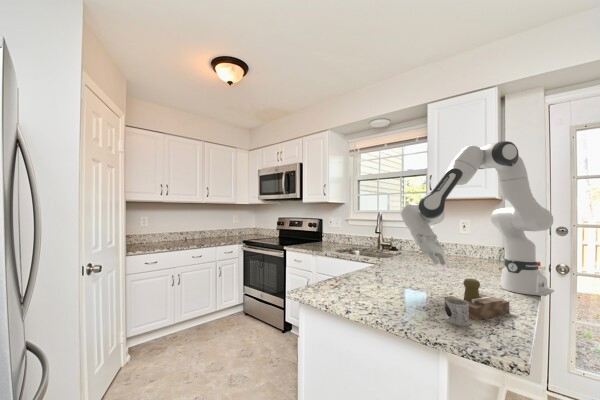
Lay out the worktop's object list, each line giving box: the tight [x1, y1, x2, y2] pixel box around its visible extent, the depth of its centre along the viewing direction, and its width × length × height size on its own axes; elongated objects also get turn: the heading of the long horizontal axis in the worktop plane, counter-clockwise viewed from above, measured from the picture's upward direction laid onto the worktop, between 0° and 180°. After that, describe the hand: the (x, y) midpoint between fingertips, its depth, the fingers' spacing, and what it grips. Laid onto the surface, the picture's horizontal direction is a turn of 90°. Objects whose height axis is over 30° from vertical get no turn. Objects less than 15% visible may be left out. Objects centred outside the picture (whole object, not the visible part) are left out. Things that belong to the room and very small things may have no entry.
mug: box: [444, 299, 470, 328], centre depth 86 cm, size 10×7×7 cm
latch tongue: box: [472, 296, 492, 303], centre depth 97 cm, size 9×1×4 cm, turn 113°
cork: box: [463, 278, 481, 302], centre depth 101 cm, size 6×6×11 cm
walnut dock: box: [444, 292, 510, 321], centre depth 99 cm, size 18×12×5 cm, turn 113°
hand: (441, 264), depth 116 cm, fingers open, 8 cm apart
